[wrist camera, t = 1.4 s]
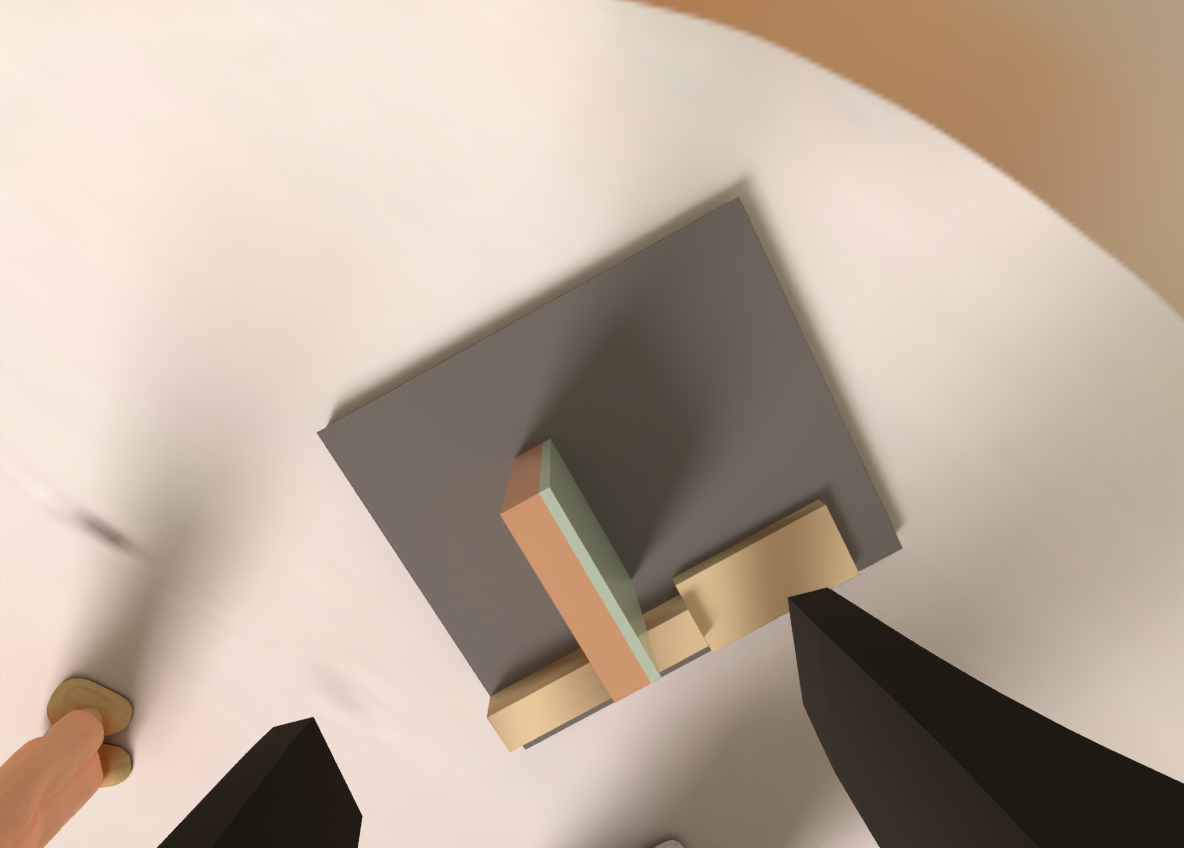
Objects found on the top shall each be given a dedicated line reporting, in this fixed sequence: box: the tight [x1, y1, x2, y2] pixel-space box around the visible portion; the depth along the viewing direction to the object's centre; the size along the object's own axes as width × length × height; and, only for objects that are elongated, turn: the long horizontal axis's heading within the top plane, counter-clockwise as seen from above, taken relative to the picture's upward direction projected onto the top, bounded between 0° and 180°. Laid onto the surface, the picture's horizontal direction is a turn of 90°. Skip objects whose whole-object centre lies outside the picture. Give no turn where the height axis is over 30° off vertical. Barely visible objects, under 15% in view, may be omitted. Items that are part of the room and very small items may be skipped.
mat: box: [317, 197, 902, 750], centre depth 22 cm, size 16×14×1 cm
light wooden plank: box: [487, 500, 859, 752], centre depth 22 cm, size 14×3×1 cm, turn 119°
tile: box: [500, 439, 661, 702], centre depth 18 cm, size 1×6×6 cm, turn 29°
